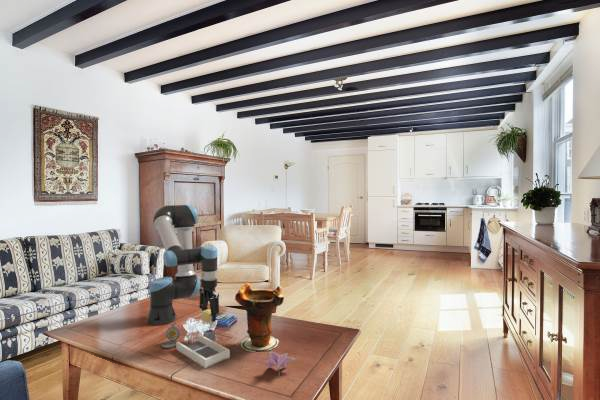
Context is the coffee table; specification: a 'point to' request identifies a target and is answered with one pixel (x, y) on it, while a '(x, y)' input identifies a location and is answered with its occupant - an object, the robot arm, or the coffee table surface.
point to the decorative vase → (259, 316)
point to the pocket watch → (170, 332)
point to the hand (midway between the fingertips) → (208, 325)
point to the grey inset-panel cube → (209, 334)
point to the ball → (207, 315)
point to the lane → (204, 351)
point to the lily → (278, 360)
